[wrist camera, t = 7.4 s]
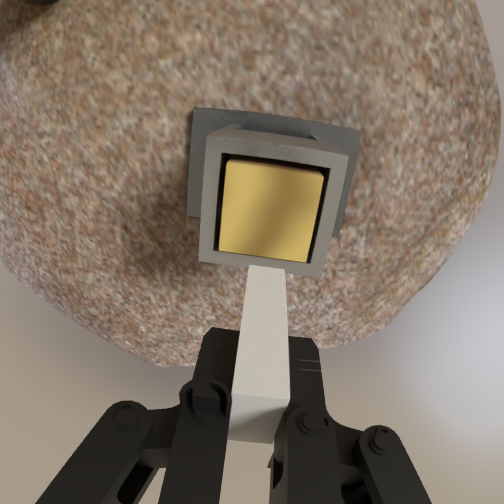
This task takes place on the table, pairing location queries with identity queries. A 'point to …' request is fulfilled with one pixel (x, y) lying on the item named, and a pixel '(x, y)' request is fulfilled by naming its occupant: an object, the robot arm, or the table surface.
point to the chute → (275, 147)
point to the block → (269, 207)
